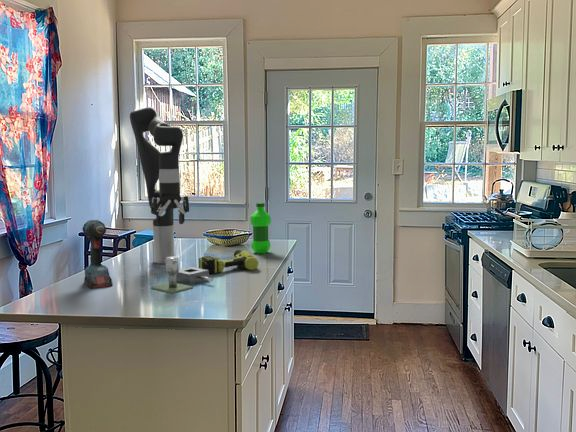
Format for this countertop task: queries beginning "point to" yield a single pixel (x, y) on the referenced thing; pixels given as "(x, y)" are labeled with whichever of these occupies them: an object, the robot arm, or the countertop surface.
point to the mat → (171, 290)
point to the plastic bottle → (260, 229)
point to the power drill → (96, 256)
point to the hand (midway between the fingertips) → (170, 224)
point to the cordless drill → (228, 262)
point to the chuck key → (172, 270)
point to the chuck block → (193, 275)
